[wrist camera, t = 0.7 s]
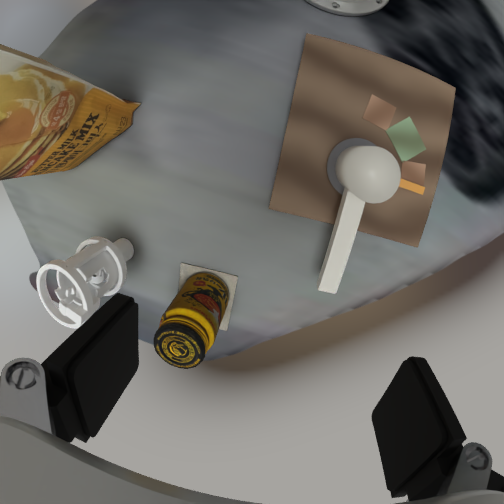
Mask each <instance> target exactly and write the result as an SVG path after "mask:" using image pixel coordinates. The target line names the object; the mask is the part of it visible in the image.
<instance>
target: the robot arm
mask: <svg viewBox="0 0 504 504" xmlns="http://www.w3.org/2000/svg"><path fill="white" fill-rule="evenodd" d="M305 1H307V2H308V3H310V4H312V5H314V6H315V7H317V8H320V9H322V10H324V11H327V12H331V13H334V14H338V15H344V16H364V15H369V14H372V13H375V12H377V11H379V10H380V9H382V8H383V7H384V6H385V5H386V4H387V2H388V1H389V0H305ZM334 7H336V8H334ZM138 356H139V355H138V304H137V303H134V299H133V298H132V297H129V296H126V295H123V294H120V293H117V294H115V295H114V296H113V297H112V298H111V299H110V300H109V301H107V302H106V303H105V304H104V305H103V306H102V307H101V308H100V309H99V310H98V311H96V312H95V313H94V314H93V315H92V316H91V317H90V318H89V319H88V320H87V321H86V322H84V323H83V324H82V325H81V326H80V327H79V328H78V329H77V330H76V331H75V332H74V333H73V334H72V335H71V336H69V338H68V339H66V340H65V341H64V342H63V343H62V344H61V345H60V346H59V347H58V348H57V349H56V350H55V351H54V352H53V353H52V354H51V355H50V356H49V357H48V358H47V359H46V360H45V361H44V362H43V363H42V364H41V365H40V363H38V362H37V361H35V360H33V359H30V358H18V359H14V360H12V361H10V362H9V363H7V364H6V365H5V367H4V368H3V370H2V373H1V376H0V504H259V503H252V502H245V501H240V500H233V499H229V498H223V497H219V496H213V495H209V494H205V493H201V492H196V491H192V490H189V489H185V488H182V487H178V486H175V485H171V484H168V483H165V482H162V481H159V480H155V479H152V478H150V477H147V476H144V475H141V474H139V473H136V472H133V471H131V470H128V469H126V468H123V467H121V466H118V465H116V464H113V463H111V462H108V461H106V460H104V459H102V458H99V457H97V456H95V455H93V454H91V453H88V452H87V451H85V450H82V449H80V448H78V447H77V446H75V445H72V444H70V442H72V440H73V439H74V438H75V437H76V438H77V439H79V440H81V441H83V442H85V443H86V442H87V440H88V439H89V437H90V436H91V437H95V436H96V434H97V433H98V431H99V430H100V428H101V427H102V425H103V423H104V422H105V420H106V419H107V417H108V415H109V414H110V412H111V410H112V409H113V407H114V406H115V404H116V403H117V401H118V399H119V398H120V396H121V395H122V393H123V391H124V390H125V388H126V387H127V385H128V384H129V382H130V381H131V379H132V378H133V376H134V375H135V373H136V371H137V369H138V365H139V357H138ZM372 422H373V426H374V430H375V435H376V439H377V443H378V447H379V452H380V456H381V461H382V465H383V470H384V475H385V480H386V485H387V489H388V490H389V491H391V496H392V498H395V497H403V496H405V495H408V500H407V501H406V502H403V503H396V504H504V477H503V476H502V475H500V474H498V473H496V472H495V471H493V470H491V467H492V458H491V455H490V453H489V451H488V450H487V449H486V448H485V447H484V446H482V445H481V444H478V443H473V442H471V443H468V444H466V445H465V446H464V447H463V446H462V443H463V441H464V440H466V436H465V433H464V431H463V429H462V427H461V425H460V423H459V421H458V419H457V417H456V415H455V413H454V411H453V409H452V407H451V405H450V403H449V401H448V399H447V397H446V395H445V393H444V391H443V390H442V388H441V386H440V384H439V382H438V380H437V379H436V377H435V375H434V373H433V372H432V370H431V368H430V366H429V364H428V363H427V361H426V359H425V358H421V357H409V358H408V359H407V360H405V361H403V363H402V364H401V366H400V368H399V370H398V371H397V373H396V375H395V377H394V378H393V380H392V382H391V383H390V385H389V387H388V388H387V390H386V391H385V393H384V395H383V396H382V398H381V399H380V401H379V402H378V404H377V406H376V407H375V409H374V410H373V413H372Z"/></svg>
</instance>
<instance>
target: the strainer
mask: <svg viewBox="0 0 504 504" xmlns="http://www.w3.org/2000/svg"><path fill="white" fill-rule="evenodd" d="M88 244H91V245H90V246H88V247H86V246H87V245H88ZM85 247H86V248H85ZM133 254H134V248H133V245H132V244H131V242H130V241H129V240H127V239H125V238H120V239H118V240H116V241H115V242H114V243H112V242H111V241H109V240H108V239H106V238H103V237H97V236H96V237H91V238H89V239H87V240H86V241H84V242H82V243H81V244H80V245H79V247H78V248H77V250H76V254H75V255H74V256H72V257H70V258H69V259H67V260H66V261H62V260H52V261H50V262H49V263H47V264H45V265H44V266H42V267H41V268H40V270H39V271H38V274H37V290H38V293H39V296H40V299H41V301H42V303H43V305H44V307H45V308H46V310H47V311H48V312H49V314H50V315H51V316H52V317H53V318H54V319H55V320H56V321H58V322H59V323H60V324H62V325H64V326H66V327H69V328H79V327H80V326H81V325H82V324H83V323H84V322H86V321H87V320H88V319H89V318H90V317H91V315H92V314H93V313H94V312H95V311H96V310H97V309H98V308H99V304H100V298H101V297H102V296H110V295H113V294H115V293H116V292H117V291H118V290H119V289H120V288H121V287H122V286H123V285H124V283H125V281H126V277H127V267H126V262H127V261H128V260H129V259H130V258H132V256H133ZM49 269H55V270H57V282H58V285H59V288H57V289H56V290H55V293H56V295H57V297H58V298H59V300H60V302H59V309H58V308H57V307H56V305H55V304H54V303H53V301H52V299H51V297H50V295H49V293H48V290H47V286H46V275H47V272H48V270H49ZM107 277H108V278H107ZM106 278H107V282H106V283H103V282H102V281H103V280H105V279H106ZM117 282H118V283H117ZM116 283H117V285H116V287H113V286H114V285H115V284H116ZM112 287H113V288H112Z"/></svg>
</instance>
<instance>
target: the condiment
mask: <svg viewBox="0 0 504 504" xmlns="http://www.w3.org/2000/svg"><path fill="white" fill-rule="evenodd" d="M237 279H238V276H233V275H229V274H226V273H222V272H218V271H214V270H210V269H206V268H201V267H197V266H192V265H188V264H184V263H181V269H180V279H179V289H178V294H177V295H176V297H175V298H174V299H173V301H172V302H171V304H170V305H169V307H168V308H167V310H166V311H165V313H164V314H163V315H162V318H161V321H160V327H159V329H158V330H157V331H156V334H155V337H154V347H155V350H156V352H157V354H158V355H159V356H160V357H161V358H162V359H163V360H164V361H165V362H167V363H169V364H170V365H173V366H175V367H178V368H184V369H188V368H193V367H196V366H197V365H198V364H200V363H201V362H202V361H203V359H204V357H205V354H206V352H207V350H208V349H210V348H211V346H212V345H213V343H214V341H215V338H216V335H217V332H218V329H222V330H226V331H227V328H228V323H229V318H230V313H231V308H232V304H233V299H234V294H235V289H236V284H237Z"/></svg>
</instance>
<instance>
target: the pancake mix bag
mask: <svg viewBox="0 0 504 504" xmlns="http://www.w3.org/2000/svg"><path fill="white" fill-rule="evenodd" d="M140 104H141V103H139V102H132V101H128V100H125V99H122V100H121V99H120V98H118V97H116V96H115V95H113V94H112V93H110V92H108V91H106V90H104V89H101V88H99V87H96V86H94V85H92V84H90V83H89V82H87V81H85V80H83V79H81V78H79V77H77V76H75V75H73V74H71V73H69V72H67V71H64V70H62V69H59V68H56V67H55V66H53V65H52V64H50V63H49V62H47V61H46V60H43V59H40V58H37V57H34V56H31V55H29V54H26V53H23V52H20V51H17V50H15V49H12V48H9V47H6V46H4V45H1V44H0V180H5V179H11V178H17V177H24V176H31V175H39V174H47V173H54V172H59V171H67V170H70V169H73V168H75V167H76V166H78V165H79V164H81V163H82V162H83V161H84V160H85V159H87V158H88V157H89V156H91V155H92V154H93V153H94V152H96V151H97V150H98V149H100V148H101V147H102V146H103V145H105V144H106V143H108V142H109V141H110V140H112V139H114V138H115V137H116V136H118V135H119V134H121V133H122V132H124V131H125V130H126V129H127V128H129V127H130V126H131V125H132V124H133V112H134V111H135V110H136V108H137V107H138V106H139V105H140Z"/></svg>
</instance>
